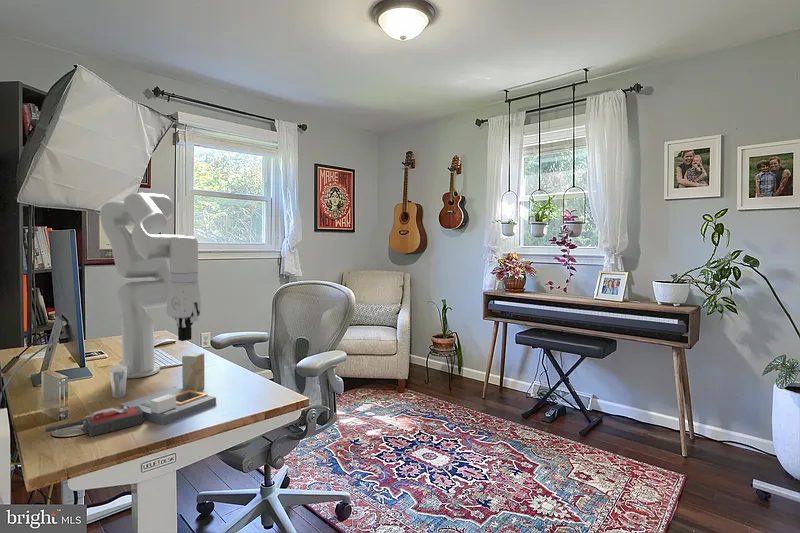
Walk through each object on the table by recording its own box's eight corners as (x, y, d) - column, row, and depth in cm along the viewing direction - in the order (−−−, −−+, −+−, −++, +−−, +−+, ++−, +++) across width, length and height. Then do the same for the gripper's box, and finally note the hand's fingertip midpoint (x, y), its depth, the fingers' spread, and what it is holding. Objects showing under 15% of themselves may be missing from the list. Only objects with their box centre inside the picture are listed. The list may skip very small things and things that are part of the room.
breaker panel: (120, 411, 119) (120, 402, 119) (174, 393, 133) (174, 385, 133) (162, 425, 111) (162, 415, 111) (216, 404, 125) (215, 395, 125)
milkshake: (134, 394, 132) (132, 361, 131) (114, 400, 128) (113, 366, 127) (126, 391, 135) (125, 359, 134) (107, 396, 130) (105, 363, 130)
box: (194, 393, 134) (193, 356, 133) (181, 392, 135) (181, 356, 134) (205, 387, 139) (204, 352, 138) (193, 386, 140) (192, 351, 139)
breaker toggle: (150, 411, 114) (150, 400, 114) (169, 405, 118) (168, 394, 118) (158, 413, 112) (157, 402, 112) (176, 407, 117) (176, 396, 117)
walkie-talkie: (140, 412, 118) (44, 434, 105) (140, 396, 118) (44, 416, 104) (149, 422, 112) (48, 448, 98) (149, 405, 112) (48, 428, 98)
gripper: (156, 277, 131) (157, 338, 132) (188, 281, 123) (189, 346, 125) (180, 275, 137) (181, 334, 139) (211, 279, 130) (212, 341, 131)
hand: (184, 339), depth 132 cm, fingers closed
